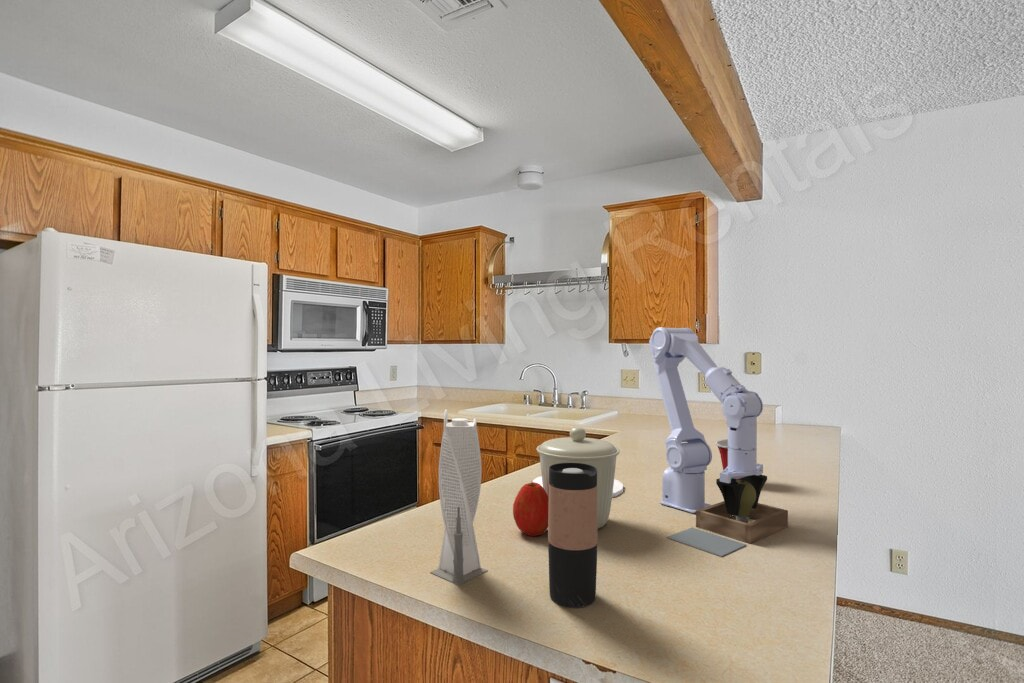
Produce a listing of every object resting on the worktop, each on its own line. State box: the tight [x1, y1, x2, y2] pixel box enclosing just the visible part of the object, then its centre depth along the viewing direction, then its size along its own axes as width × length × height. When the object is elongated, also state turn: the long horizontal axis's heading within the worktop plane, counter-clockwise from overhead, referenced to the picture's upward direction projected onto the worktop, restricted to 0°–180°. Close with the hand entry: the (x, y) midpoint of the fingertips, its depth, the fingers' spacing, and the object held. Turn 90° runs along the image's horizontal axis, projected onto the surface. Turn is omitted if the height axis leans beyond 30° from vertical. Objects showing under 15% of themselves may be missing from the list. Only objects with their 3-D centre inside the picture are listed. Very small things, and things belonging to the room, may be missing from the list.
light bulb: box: [735, 480, 756, 523], centre depth 112 cm, size 6×6×10 cm
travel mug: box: [547, 463, 599, 609], centre depth 81 cm, size 8×8×20 cm
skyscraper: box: [429, 408, 489, 586], centre depth 90 cm, size 8×8×28 cm
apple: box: [512, 481, 549, 537], centre depth 109 cm, size 8×8×11 cm
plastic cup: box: [715, 438, 741, 481], centre depth 147 cm, size 11×11×12 cm
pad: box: [666, 527, 747, 558], centre depth 104 cm, size 12×9×1 cm
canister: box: [536, 426, 621, 530], centre depth 114 cm, size 18×18×21 cm
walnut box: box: [695, 500, 789, 545], centre depth 112 cm, size 12×16×4 cm
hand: (742, 510), depth 112 cm, fingers open, 7 cm apart
